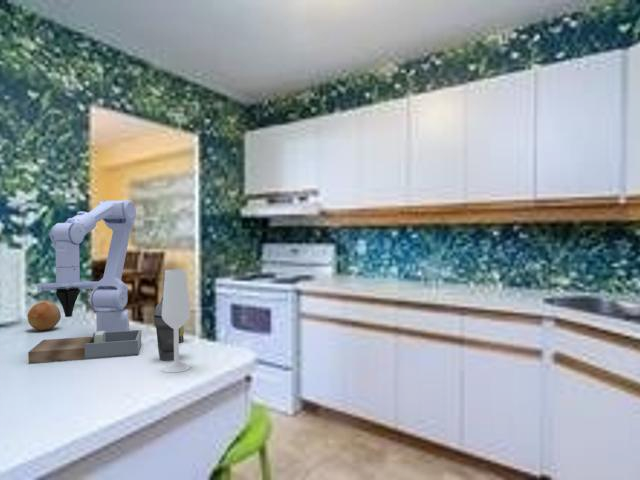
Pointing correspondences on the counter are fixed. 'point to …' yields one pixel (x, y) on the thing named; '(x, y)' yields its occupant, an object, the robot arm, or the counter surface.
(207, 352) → the counter surface
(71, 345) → the plate
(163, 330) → the beverage cup
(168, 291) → the champagne flute
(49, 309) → the onion
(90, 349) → the box
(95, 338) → the tile
